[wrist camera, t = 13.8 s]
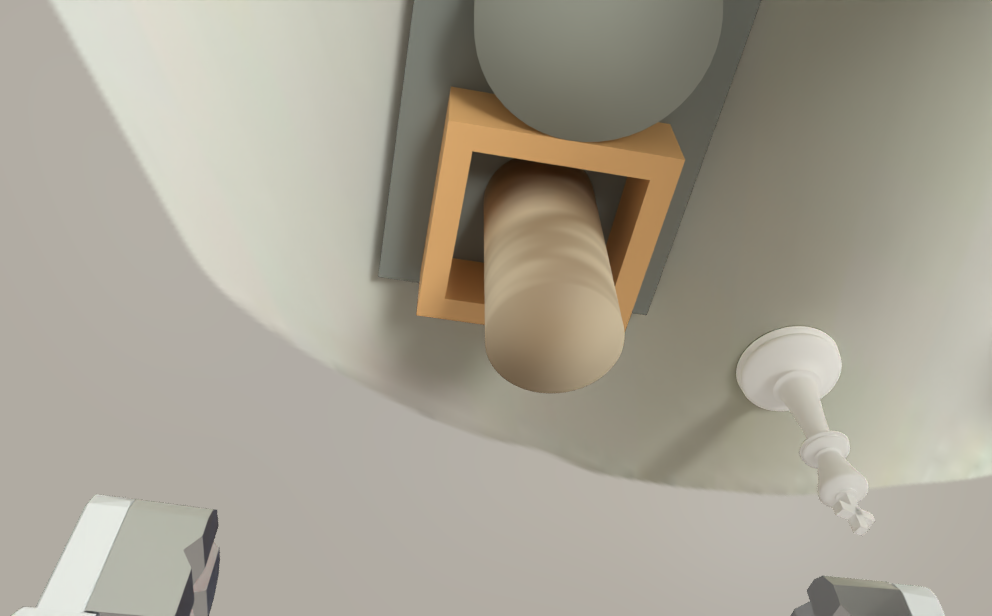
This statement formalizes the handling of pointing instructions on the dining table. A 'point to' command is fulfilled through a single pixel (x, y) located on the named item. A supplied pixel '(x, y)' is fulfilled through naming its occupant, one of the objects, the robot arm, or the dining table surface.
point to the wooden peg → (547, 279)
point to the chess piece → (807, 409)
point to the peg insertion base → (554, 128)
